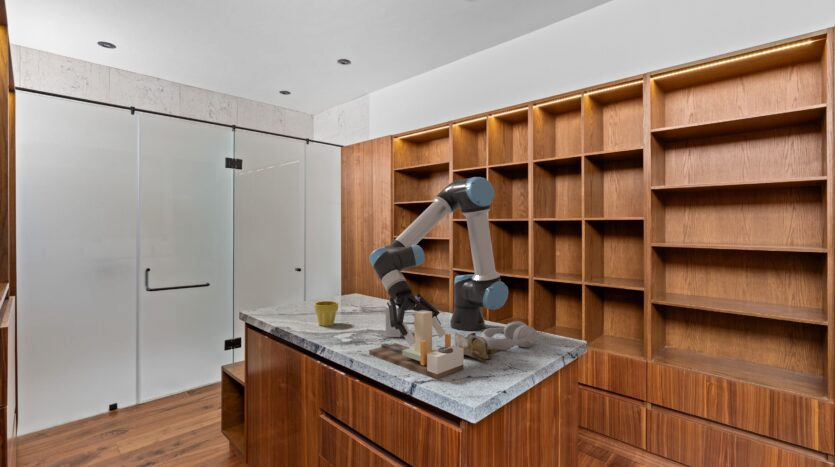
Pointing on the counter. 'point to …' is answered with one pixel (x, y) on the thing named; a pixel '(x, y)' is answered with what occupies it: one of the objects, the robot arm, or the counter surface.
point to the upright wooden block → (421, 334)
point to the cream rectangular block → (444, 359)
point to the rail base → (407, 360)
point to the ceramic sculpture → (475, 346)
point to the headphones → (510, 336)
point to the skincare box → (390, 330)
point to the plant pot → (326, 312)
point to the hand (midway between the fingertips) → (428, 339)
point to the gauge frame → (424, 351)
